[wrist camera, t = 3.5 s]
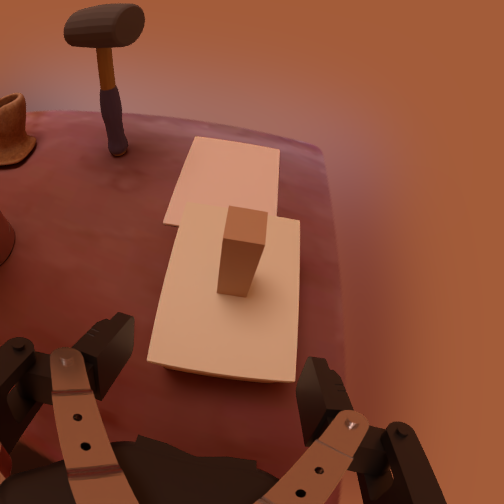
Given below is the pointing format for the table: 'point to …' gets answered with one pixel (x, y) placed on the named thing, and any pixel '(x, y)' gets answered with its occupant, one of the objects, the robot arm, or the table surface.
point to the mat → (226, 178)
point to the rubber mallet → (107, 55)
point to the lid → (230, 295)
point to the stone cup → (14, 130)
